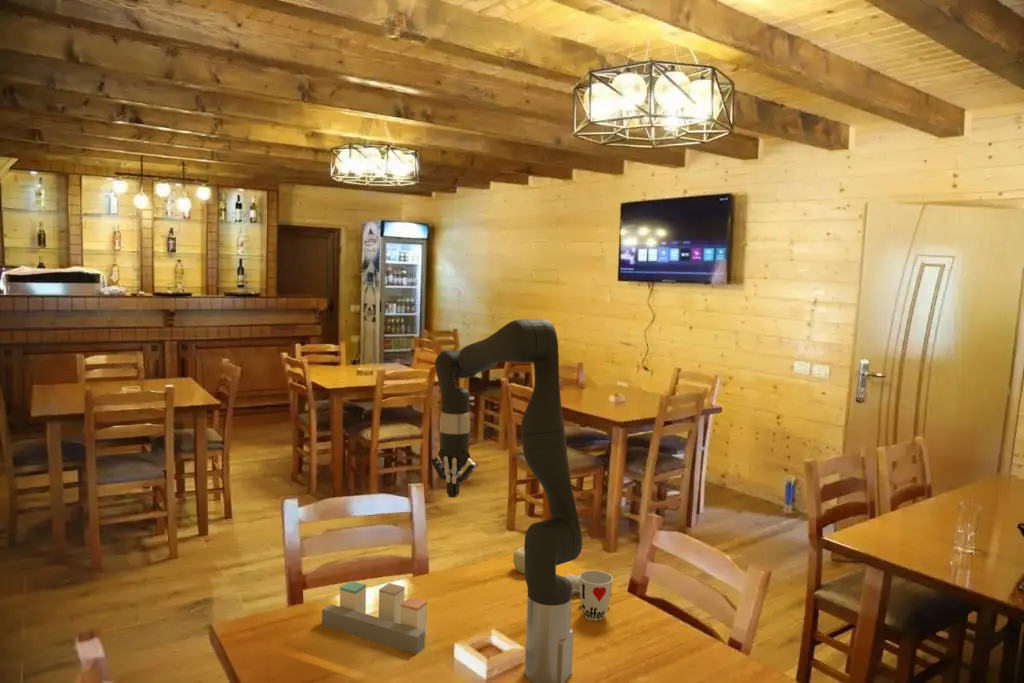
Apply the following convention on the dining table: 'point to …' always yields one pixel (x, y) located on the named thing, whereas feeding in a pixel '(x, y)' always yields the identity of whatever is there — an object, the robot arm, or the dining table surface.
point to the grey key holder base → (374, 628)
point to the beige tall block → (391, 602)
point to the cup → (595, 593)
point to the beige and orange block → (414, 614)
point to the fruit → (519, 560)
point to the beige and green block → (353, 596)
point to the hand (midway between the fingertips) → (453, 496)
